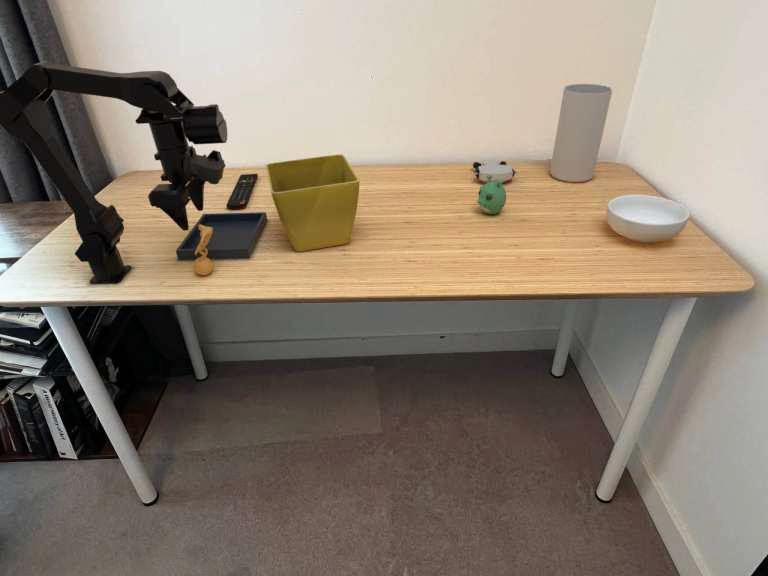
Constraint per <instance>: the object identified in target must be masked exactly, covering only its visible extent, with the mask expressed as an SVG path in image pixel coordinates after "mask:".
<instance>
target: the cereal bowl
mask: <svg viewBox="0 0 768 576" xmlns="http://www.w3.org/2000/svg"><path fill="white" fill-rule="evenodd" d="M689 219H690V212H689V210H688V209H687V208H686V207H685V206H683V205H682V204H681V203H679V202H676V201H674V200H670V199H668V198H664V197H661V196H655V195H650V194H649V195H648V194H625V195H624V194H623V195H620V196H617V197H613V198H612V199H611V200H610V201H609V202H608V204H607V208H606V221H607V223H608V226H609V228H611V229H612V230H613V231H614V232H616V234H617V235H620V236H622V237H624V238H626V239H627V240H629V241H632V242H635V243H640V244H652V243H659V242H665V241H668V240H671V239H673V238H675V237H676V236H678V235H680V233H682V232H683V231H684V229H685V227H686V225H687V224H688V223H689V222H688V220H689Z"/></svg>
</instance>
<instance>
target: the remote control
mask: <svg viewBox="0 0 768 576" xmlns="http://www.w3.org/2000/svg"><path fill="white" fill-rule="evenodd" d="M258 177H259V174H258V173H247V174H240V175H239V178H238V179H237V182H236V184H235V186H234V188H233V190H232V193H231V194H230V196H229V199H228V200H227V202H226V205H225V206H226V208H227V209H229V210H231V211H239V210H240V211H241V210H243V209H244V208H246V207H247V205H248V203H249V200H250V198H251V194H252V193H253V189H254V187H255V185H256V182H257V179H258Z"/></svg>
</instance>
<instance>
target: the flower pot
mask: <svg viewBox="0 0 768 576" xmlns="http://www.w3.org/2000/svg"><path fill="white" fill-rule="evenodd" d="M265 169H266V173H267V174H266V175H267V179H268V183H269V188H270V193H271V196H272V200H273V203H274V206H275V209H276V212H277V214H278V217H279V219H280V223H281V225H282V227H283V229H284V231H285V233H286V235H287V237H288V239H289V241H290V244H291V245H292V248H294V250H295V251H296V252H299V253H300V252H306V251H310V250H311V251H313V250H317V249H324V248H331V247H335V246H342V245H346V244H348V243H349V241H350V238H351V236H352V232H353V229H354V225H355V221H356V217H357V209H358V205H359V204H358V203H359V195H360V178H359V177H358V175H357V174H356V172H355V171H354V169H353V167H352V166H351V164H350V163H349V161H348V159H347V158H346V156H345V155H344V154H340V153H339V154H331V155H324V156H314V157H307V158H300V159H299V158H298V159H293V160H292V159H291V160H285V161H284V160H283V161H277V162H269V163H267V164H266V165H265Z"/></svg>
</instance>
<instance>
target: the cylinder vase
mask: <svg viewBox="0 0 768 576" xmlns="http://www.w3.org/2000/svg"><path fill="white" fill-rule="evenodd" d="M612 93H613V88H612V87H610V86H606V85H602V84H595V83H574V84H568V85H565V86H564V87H563V93H562V99H561V103H560V104H561V105H560V111H559V117H558V122H557V128H556V133H555V140H554V144H553V145H554V146H553V151H552V158H551V163H550V169H549V174H550V176H552V178H554V179H556V180H558V181H561V182H567V183H584V182H588V181H590V180H592V178H593V177H594V175H595V171H596V166H597V161H598V157H599V152H600V148H601V144H602V143H601V142H602V139H603V134H604V130H605V125H606V120H607V116H608V111H609V108H610V103H611V98H612Z"/></svg>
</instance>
